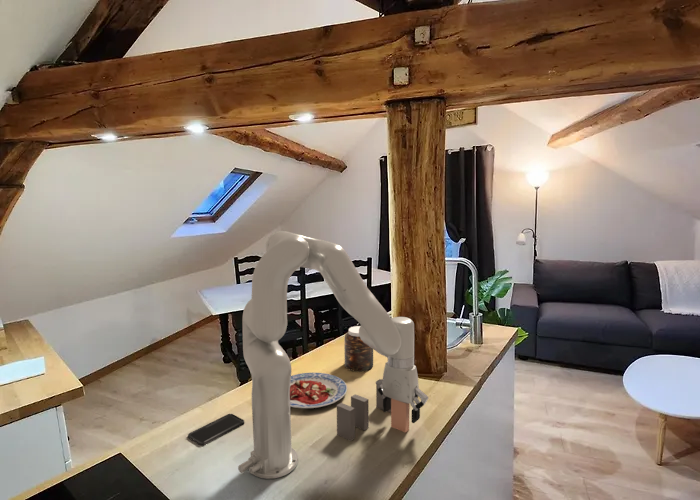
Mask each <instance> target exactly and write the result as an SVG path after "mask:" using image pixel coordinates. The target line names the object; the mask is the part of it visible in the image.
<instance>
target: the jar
mask: <svg viewBox="0 0 700 500" xmlns="http://www.w3.org/2000/svg"><path fill="white" fill-rule="evenodd" d="M360 326H361V325H354V326H351V327H349V328H348V331H347V332H346V333H345V334H344V349H343V350H344V368H345V369H347V371H351V372H357V373H358V372H359V373H360V372H367V371H369V370H372V368H374V349H373V348H371V347H369V346H368V345H367V344H365V343H364V342H363V341H362V340H361V338H360V336H359V328H360Z"/></svg>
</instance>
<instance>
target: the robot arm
mask: <svg viewBox="0 0 700 500" xmlns="http://www.w3.org/2000/svg"><path fill="white" fill-rule="evenodd" d="M299 268H305V269H311V270H315V271H317V272H319V274H321V276H322V278H323V279H324V281H325V282H326V284H327V286H328V287H329V289H330V290H331V292H332V294H333V295H334V297H335V298H336V300H337V302H338V303H339V305H340V306H341V307H342V308H343V309H344V310H345V311H346V312H347V313H348V315H350V316H351V317H352V318H354V319H355V320H356V321H357V322H358V323H359V326H360V328H359V336H360V338H361V340H362V341H363V342H364V343H365V344H367V345H368V346H369V347H371V348H373V351H374V352H376V353H378V354H379V355H382V356H383V357H385V358H387V361H386V362H385V364H384V369H383V375H382V378H380V379H381V380H379V379H378V381H377V380H376V381H375V384H376V385H377V388H378V391H379V393H380V394H381V398H382V399H383V410H382V411H383V413H388V412H387V411H388V410H390V409H391V398H392V399H395V400H397V401H400V402H403V403H407V404H410V406H411V407H412V409H411V423H412V424H415V423H416V422H417V421H419V420H420V417H421V408H423V407H424V406H425V405H426V403H427V401H428V400H429V396H428V395H427V394H425V393H424V392H423V391H422V390H421V389H420V387H419V385H420V384H419V376H418V370H417V366H416V365H415V323H414V321H413V320H412V319H411V318H409V317H406V316H394V317H391V316H390V314H389V313H388V312H387V310H386V309H385V308H384V307H383V305H382V304H381V303H380V302H379V300H378V299H377V298H376V296H375V295H374V293H372V292H371V290H370V289H369V288H368V286H367V285H366V283H365V282H364V280H363V278H362V277H361V275H360V273H359V271H358V270H357V268H356V266H355V264H354V263H353V261H352V260H351V258H350V256H349V254H348V253H347V251H346V250H345V248H343V247H342V246H341V245H339V244H337V243H335V242H331V241H327V240H325V239H324V240H323V239H318V238H313V237H309V236H305V235H302V234H297V233H295V232H291V231H285V230H279V231H275V232H274V233H272V234H271V235H270V236H269V237H268V238H267V241H266V243H265V253H264V254H263V255H262V256H261V257H260V259H259V261H258V262H257V264H256V266H255V268H254V270H253V273H252V278H251V298H250V299H249V301H248V302H247V303H246V304H245V306H244V308H243V313H242V351H243V352H242V354H243V358H244V361H245V364H246V365H247V367H248V370H249V372H250V375H251V382H252V384H251V413H252V414H251V415H252V434H253V435H252V437H253V450H251V451H250V457H249V458H248V459H247V460H246V461H243V463H241V464H239V465H238V466H237V469H238V472H239V473H240V474H243V473H245V472H246V471H248V470H249V474H251V475H254V476H255V477H257V478H260V479H265V480H266V479H267V480H271V479H276V478H277V479H278V478H282V477H284V476H286V475H288V474H289V473H291V472H292V471H294V470H295V468H297V465H298V462H299V455H298V453H297V451H296V450H295V449H294V448H293V447H292V420H291V417H292V416H291V407H290V381H291V376H292V363H291V360H290V358H289V356H288V354H287V353H286V351H285V350H284V349H283V347H282V346H281V345H280V343H279V341H280V340H281V339H282V338H283V336H284V335H285V334H286V331H287V328H288V327H287V326H288V302H287V301H288V299H287V298H288V285H289V280H290V278H291V276H292V275H293V273H295V272H296V271H297V270H298V269H299ZM419 398H420V399H419Z"/></svg>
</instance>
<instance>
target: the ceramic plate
mask: <svg viewBox="0 0 700 500" xmlns="http://www.w3.org/2000/svg"><path fill="white" fill-rule="evenodd" d="M347 391H348V386H347V383H346V382H345V380H343V379H342V378H340V377H338V376H336V375H332V374H330V373H325V372H302V373H296V374H291V381H290V408H295V409H314V408H315V409H317V408H321V407H326V406H329V405H332V404H335V403H336V402H338V401H340V400H341V399H342V398H344V397H345V395H346V394H347Z"/></svg>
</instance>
